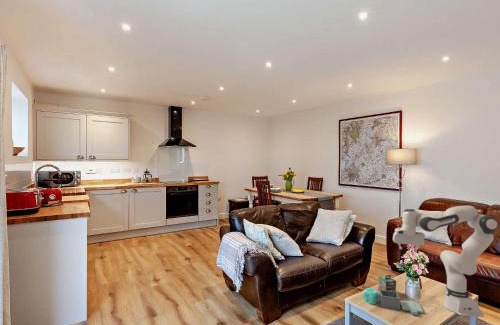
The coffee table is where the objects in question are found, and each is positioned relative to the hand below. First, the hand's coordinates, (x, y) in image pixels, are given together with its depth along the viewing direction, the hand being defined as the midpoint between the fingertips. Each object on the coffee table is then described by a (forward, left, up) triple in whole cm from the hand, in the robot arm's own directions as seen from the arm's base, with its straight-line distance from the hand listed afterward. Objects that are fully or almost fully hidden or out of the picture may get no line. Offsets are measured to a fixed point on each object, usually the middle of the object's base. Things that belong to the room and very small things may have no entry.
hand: (407, 249), depth 199 cm
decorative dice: (+25, +7, -39) cm, 47 cm away
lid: (-1, +10, -39) cm, 41 cm away
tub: (+13, +8, -39) cm, 42 cm away
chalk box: (+11, -10, -39) cm, 42 cm away
